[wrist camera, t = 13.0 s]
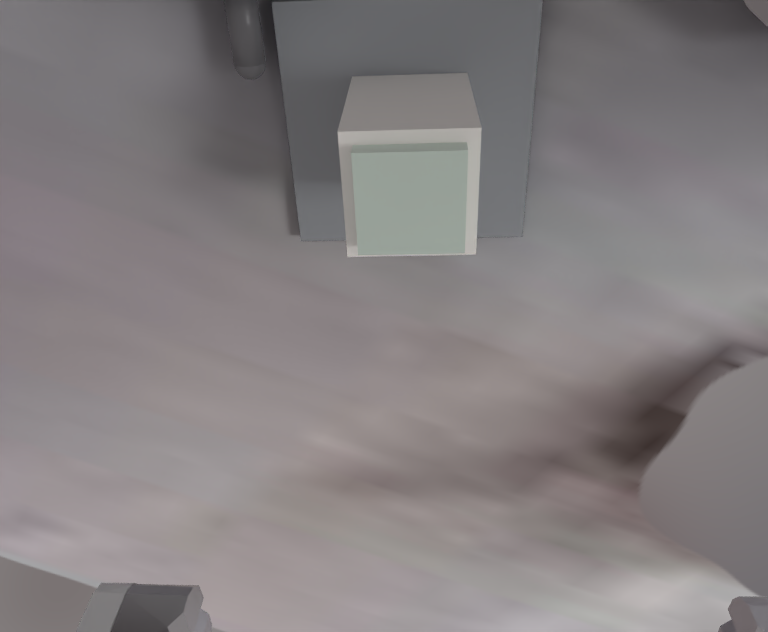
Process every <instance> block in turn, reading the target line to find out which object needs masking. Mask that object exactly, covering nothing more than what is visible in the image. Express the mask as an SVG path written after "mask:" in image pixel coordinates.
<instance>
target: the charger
mask: <svg viewBox="0 0 768 632" xmlns="http://www.w3.org/2000/svg"><path fill="white" fill-rule="evenodd" d="M481 130H482V127H481V123H480V120H479V116H478V112H477V108H476V104H475V100H474V97H473V93H472V89H471V85H470V81H469V77H468V73H444V74H413V75H381V76H352V79H351V83H350V86H349V90H348V94H347V98H346V101H345V105H344V109H343V113H342V116H341V120H340V124H339V128H338V131H337V133H338V145H339V158H340V170H341V182H342V195H343V207H344V220H345V232H346V245H347V257H376V256H431V255H476V245H477V222H478V199H479V176H480V153H481Z"/></svg>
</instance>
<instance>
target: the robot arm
mask: <svg viewBox="0 0 768 632" xmlns="http://www.w3.org/2000/svg"><path fill="white" fill-rule="evenodd" d="M203 598H204V597H203V595H202V592H201V589H200V587H199V585H158V584H136V583H101V584H100V585H99V587H98V588H97V589H96V590H95V592H94V593H93V594H92V596H91V598H90V601H89V603H88V605H87V608H86V610H85V612H84V614H83V616H82V619H81V621H80V623H79V625H78V628H77V630H76V632H212V623H211V619H210V616H209V614H208V613H207V612H205V611H204V610H202V609H201V605H202V602H203ZM728 611H729V614H730V616H731V619H732V620H730V621H728V622H727V623H725V624H723V625H721V626H720V628H719V631H718V632H768V597H737V598H735V599H733V600H732V602H731V604H730V606H729V608H728Z"/></svg>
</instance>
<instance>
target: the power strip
mask: <svg viewBox="0 0 768 632" xmlns="http://www.w3.org/2000/svg"><path fill="white" fill-rule="evenodd" d="M224 5H225V12H226V18H227V24H228V30H229V37H230V43H231V49H232V55H233V62H234V66H235V69H236V71H237V73H238V74H239V75H240V76H241V77H243V78H245V79H249V80H253V79H257V78H258V77H260V76H261V75H262V74H263V72H264V70H265V67H266V61H265V53H264V46H263V38H262V31H261V23H260V16H259V8H258V1H257V0H224Z"/></svg>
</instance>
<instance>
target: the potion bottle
mask: <svg viewBox="0 0 768 632" xmlns="http://www.w3.org/2000/svg"><path fill="white" fill-rule="evenodd" d="M744 2H745V4H746V5H747V7H748V9H749V10H751V11H752V12H753V13H754V14H755V15H756V16H757V17H758V18H759V19H760V20H761V21H762V22H763V23H764V24H765V25H766V26H767V27H768V0H744Z"/></svg>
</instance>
